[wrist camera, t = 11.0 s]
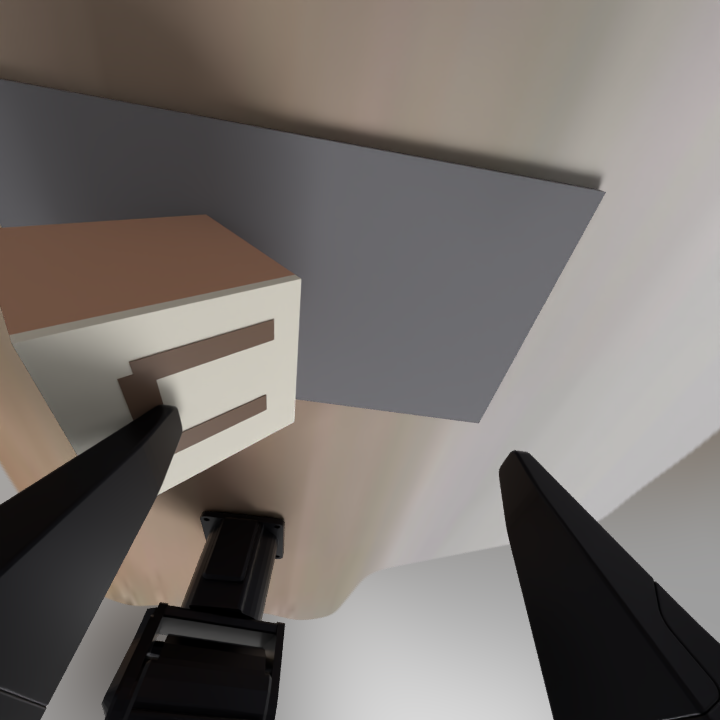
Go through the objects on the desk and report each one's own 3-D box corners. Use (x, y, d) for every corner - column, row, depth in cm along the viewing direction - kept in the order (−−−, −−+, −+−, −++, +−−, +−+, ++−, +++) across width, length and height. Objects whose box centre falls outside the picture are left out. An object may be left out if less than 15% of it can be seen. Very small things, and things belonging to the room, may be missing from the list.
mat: (476, 417, 19) (478, 423, 19) (76, 364, 18) (71, 369, 17) (599, 190, 12) (605, 192, 12) (-63, 66, 10) (-77, 65, 10)
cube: (114, 519, 9) (65, 394, 12) (294, 422, 13) (221, 344, 16) (12, 344, 6) (-23, 229, 9) (302, 279, 9) (205, 214, 12)
